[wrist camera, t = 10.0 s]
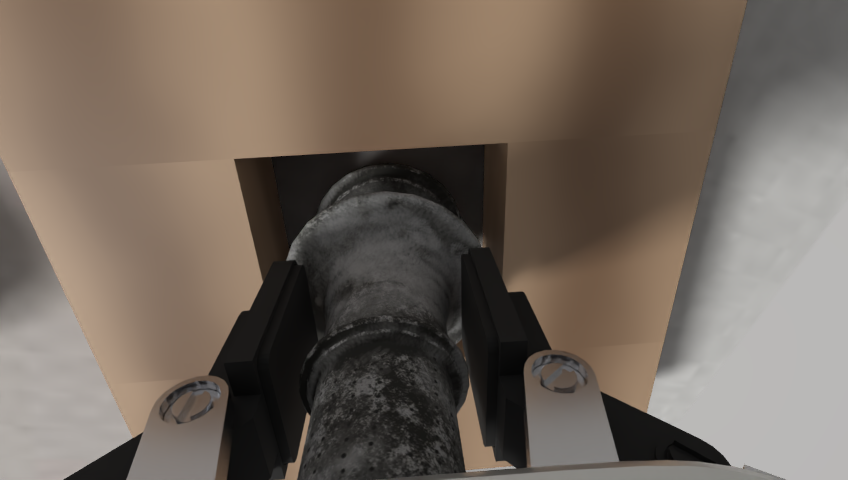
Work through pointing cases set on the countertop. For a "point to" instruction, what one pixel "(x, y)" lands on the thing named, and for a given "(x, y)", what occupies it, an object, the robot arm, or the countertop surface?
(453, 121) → the walnut socket block
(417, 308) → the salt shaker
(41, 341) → the countertop surface
